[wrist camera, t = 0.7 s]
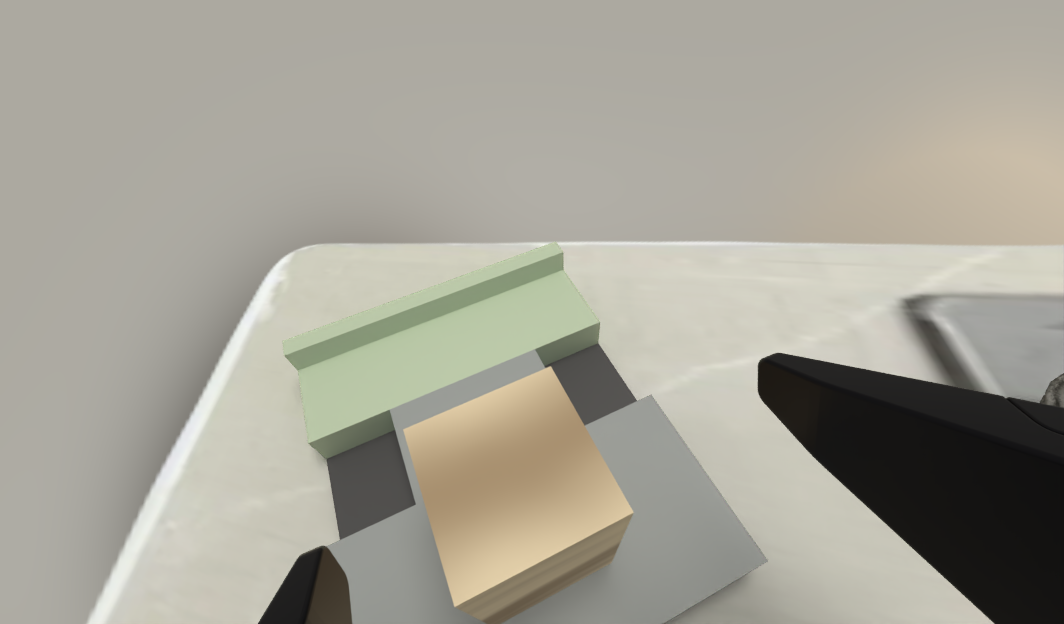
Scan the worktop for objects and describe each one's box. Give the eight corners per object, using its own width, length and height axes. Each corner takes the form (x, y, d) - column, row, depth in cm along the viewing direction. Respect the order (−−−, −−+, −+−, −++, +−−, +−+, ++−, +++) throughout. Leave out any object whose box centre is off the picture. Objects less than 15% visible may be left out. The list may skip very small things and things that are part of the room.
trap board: (747, 571, 19) (782, 553, 16) (385, 787, 16) (341, 817, 13) (556, 285, 30) (555, 241, 27) (315, 379, 27) (282, 341, 24)
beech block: (611, 562, 18) (634, 512, 12) (493, 627, 17) (454, 607, 11) (555, 451, 21) (550, 366, 15) (452, 500, 20) (402, 429, 14)
